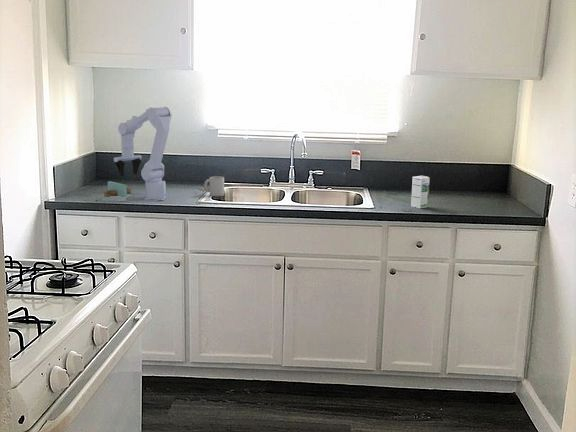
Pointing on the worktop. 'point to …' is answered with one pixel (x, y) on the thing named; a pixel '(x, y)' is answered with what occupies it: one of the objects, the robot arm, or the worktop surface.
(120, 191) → the teal bar
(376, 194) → the worktop surface
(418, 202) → the syrup box
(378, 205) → the worktop surface
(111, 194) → the brown notched bar
